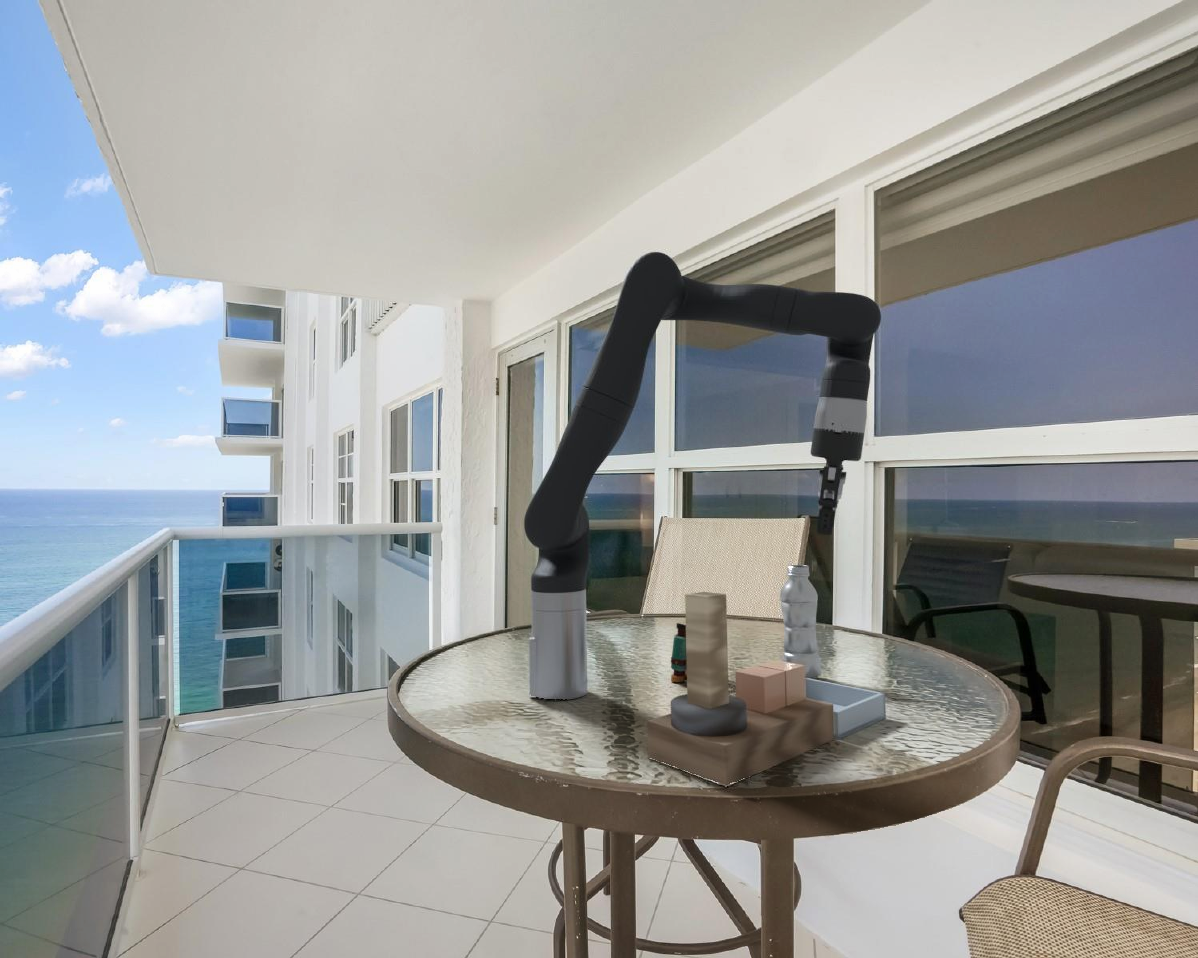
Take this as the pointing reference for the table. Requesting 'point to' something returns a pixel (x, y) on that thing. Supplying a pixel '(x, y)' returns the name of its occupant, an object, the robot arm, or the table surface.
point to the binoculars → (679, 655)
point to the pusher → (707, 672)
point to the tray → (848, 705)
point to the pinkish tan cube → (761, 688)
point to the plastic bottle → (800, 620)
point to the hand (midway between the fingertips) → (825, 530)
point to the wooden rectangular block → (744, 742)
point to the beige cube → (791, 680)
